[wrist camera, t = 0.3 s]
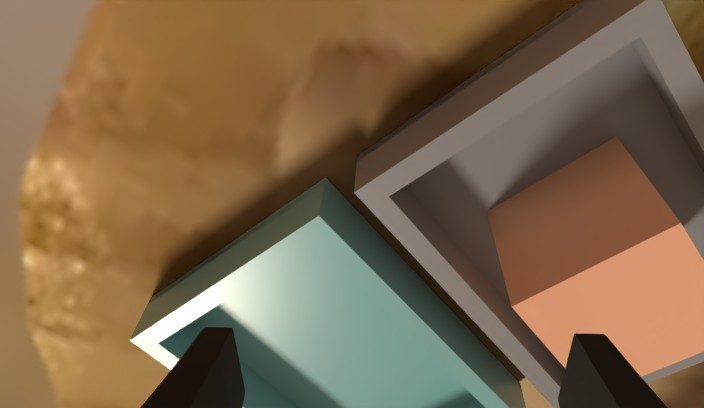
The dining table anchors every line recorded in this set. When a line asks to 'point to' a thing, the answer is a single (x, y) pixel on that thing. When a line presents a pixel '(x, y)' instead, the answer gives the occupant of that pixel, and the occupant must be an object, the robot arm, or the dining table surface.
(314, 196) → the teal bin
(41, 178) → the dining table surface
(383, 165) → the grey bin
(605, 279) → the terracotta block
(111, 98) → the dining table surface
